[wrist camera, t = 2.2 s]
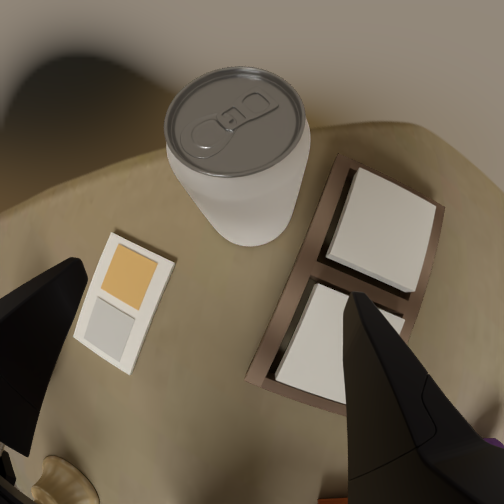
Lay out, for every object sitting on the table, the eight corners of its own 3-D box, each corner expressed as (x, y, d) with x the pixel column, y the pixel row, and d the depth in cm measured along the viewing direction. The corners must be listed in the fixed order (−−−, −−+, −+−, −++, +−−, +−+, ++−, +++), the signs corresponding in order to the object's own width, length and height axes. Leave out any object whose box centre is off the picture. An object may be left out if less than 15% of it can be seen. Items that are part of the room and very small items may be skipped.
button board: (361, 413, 19) (369, 422, 17) (246, 373, 20) (244, 380, 18) (433, 213, 21) (445, 207, 19) (332, 164, 22) (338, 153, 20)
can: (193, 201, 22) (129, 115, 10) (257, 154, 23) (248, 43, 11) (243, 265, 21) (212, 225, 9) (309, 212, 22) (350, 126, 10)
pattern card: (131, 374, 20) (129, 375, 20) (75, 336, 21) (72, 336, 21) (175, 263, 22) (173, 262, 21) (113, 233, 22) (110, 231, 22)
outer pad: (405, 292, 18) (414, 291, 17) (325, 257, 19) (330, 253, 18) (426, 211, 19) (436, 206, 18) (353, 175, 20) (359, 167, 18)
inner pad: (358, 402, 17) (364, 409, 16) (274, 373, 18) (275, 380, 16) (396, 318, 18) (405, 319, 17) (314, 284, 19) (318, 283, 17)
